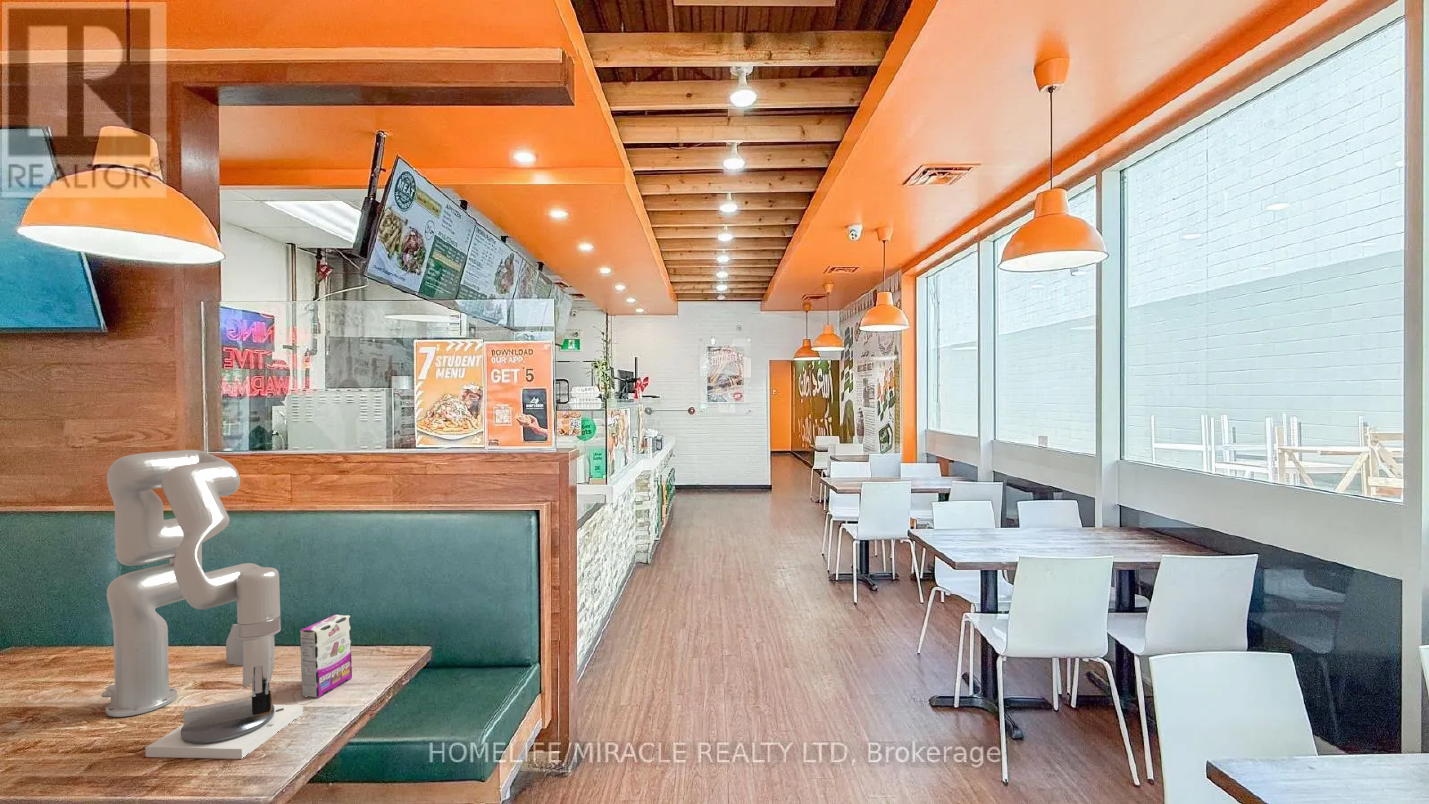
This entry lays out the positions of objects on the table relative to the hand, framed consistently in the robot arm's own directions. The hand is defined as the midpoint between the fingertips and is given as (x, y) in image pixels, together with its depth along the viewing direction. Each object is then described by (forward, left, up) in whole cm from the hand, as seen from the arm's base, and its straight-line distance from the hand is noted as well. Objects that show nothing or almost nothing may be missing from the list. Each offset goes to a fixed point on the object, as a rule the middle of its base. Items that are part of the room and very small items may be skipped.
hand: (261, 711), depth 138 cm
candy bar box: (0, +21, -5) cm, 22 cm away
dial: (-7, -1, -2) cm, 7 cm away
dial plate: (-7, -1, -5) cm, 8 cm away
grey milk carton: (-33, +35, -5) cm, 48 cm away
